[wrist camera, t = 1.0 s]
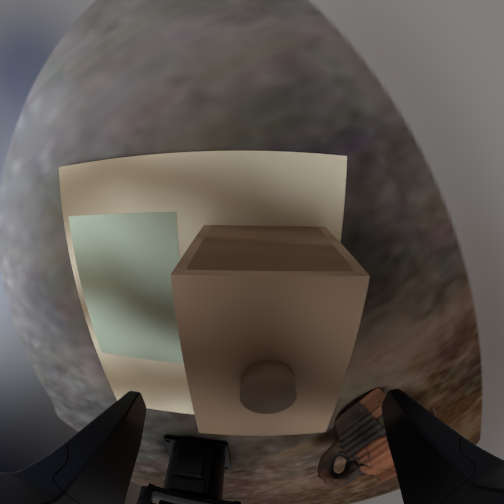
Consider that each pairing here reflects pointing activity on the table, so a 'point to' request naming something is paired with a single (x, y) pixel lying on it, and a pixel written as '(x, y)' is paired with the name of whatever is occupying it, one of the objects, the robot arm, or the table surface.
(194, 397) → the walnut cover
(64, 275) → the table surface
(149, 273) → the serving board
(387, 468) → the pottery mug
